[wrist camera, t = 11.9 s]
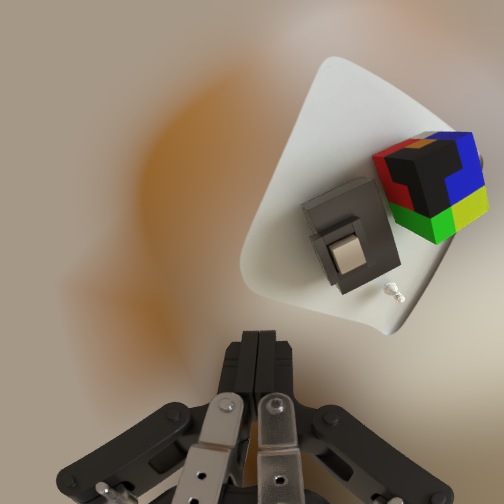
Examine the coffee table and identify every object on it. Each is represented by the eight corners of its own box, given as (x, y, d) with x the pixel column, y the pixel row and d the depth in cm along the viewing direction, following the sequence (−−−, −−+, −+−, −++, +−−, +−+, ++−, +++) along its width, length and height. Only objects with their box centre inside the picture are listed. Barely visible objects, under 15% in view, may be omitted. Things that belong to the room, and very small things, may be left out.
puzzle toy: (425, 131, 33) (471, 132, 24) (444, 194, 37) (489, 209, 27) (371, 155, 34) (413, 160, 25) (395, 222, 38) (436, 244, 28)
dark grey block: (293, 208, 37) (302, 217, 31) (361, 176, 36) (380, 180, 30) (327, 285, 40) (339, 305, 35) (388, 254, 39) (407, 269, 33)
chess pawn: (380, 291, 41) (392, 304, 37) (387, 279, 40) (399, 291, 36) (392, 296, 41) (404, 309, 38) (398, 285, 41) (411, 297, 37)
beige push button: (327, 245, 33) (332, 250, 31) (352, 233, 32) (357, 237, 31) (337, 269, 34) (341, 274, 32) (361, 257, 33) (366, 262, 32)
